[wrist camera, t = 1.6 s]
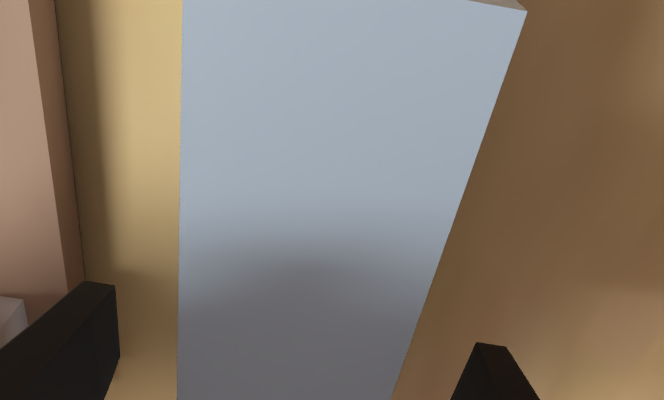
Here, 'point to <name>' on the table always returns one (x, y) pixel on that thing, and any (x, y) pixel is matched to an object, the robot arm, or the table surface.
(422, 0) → the slat
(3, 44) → the frame
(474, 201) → the table surface
